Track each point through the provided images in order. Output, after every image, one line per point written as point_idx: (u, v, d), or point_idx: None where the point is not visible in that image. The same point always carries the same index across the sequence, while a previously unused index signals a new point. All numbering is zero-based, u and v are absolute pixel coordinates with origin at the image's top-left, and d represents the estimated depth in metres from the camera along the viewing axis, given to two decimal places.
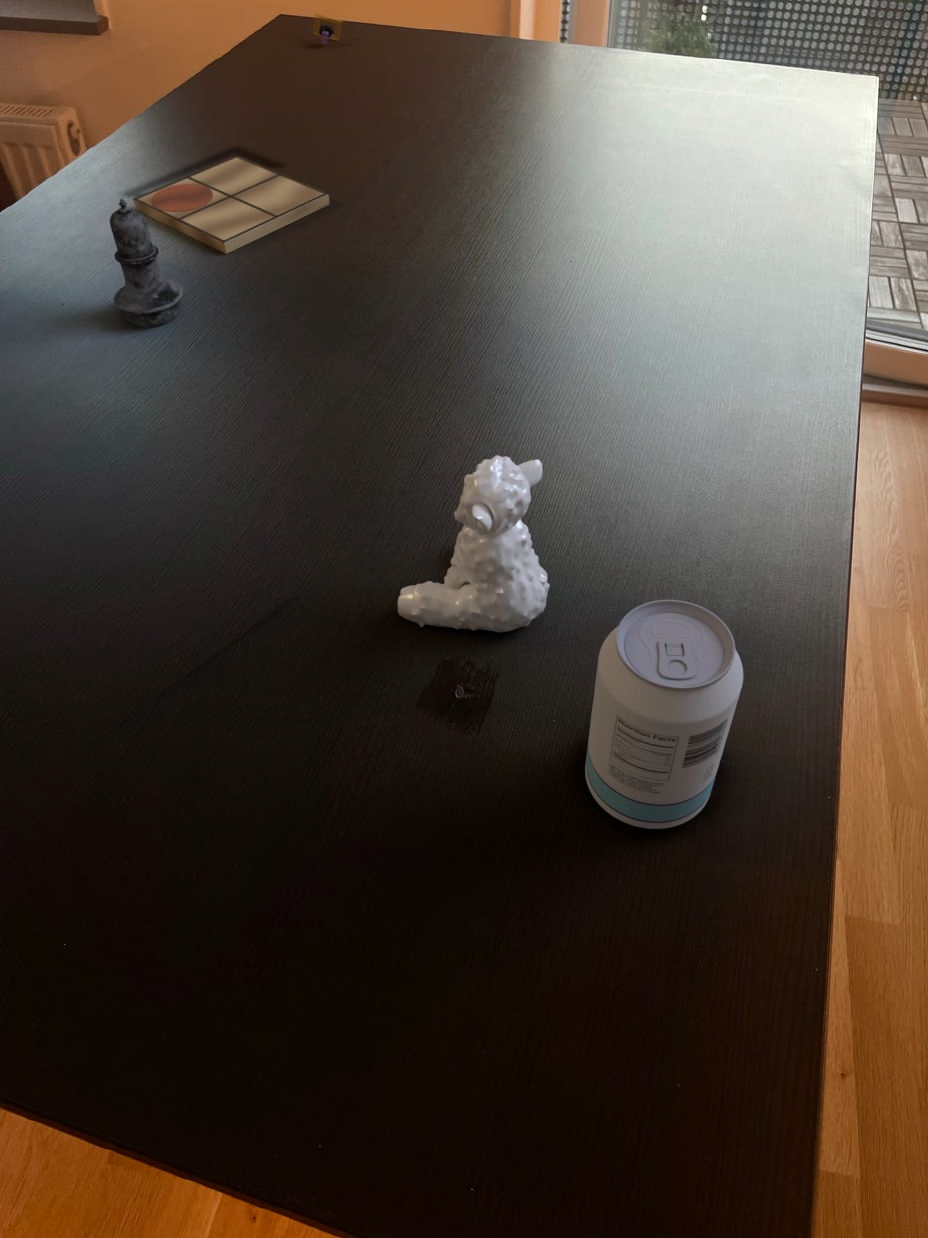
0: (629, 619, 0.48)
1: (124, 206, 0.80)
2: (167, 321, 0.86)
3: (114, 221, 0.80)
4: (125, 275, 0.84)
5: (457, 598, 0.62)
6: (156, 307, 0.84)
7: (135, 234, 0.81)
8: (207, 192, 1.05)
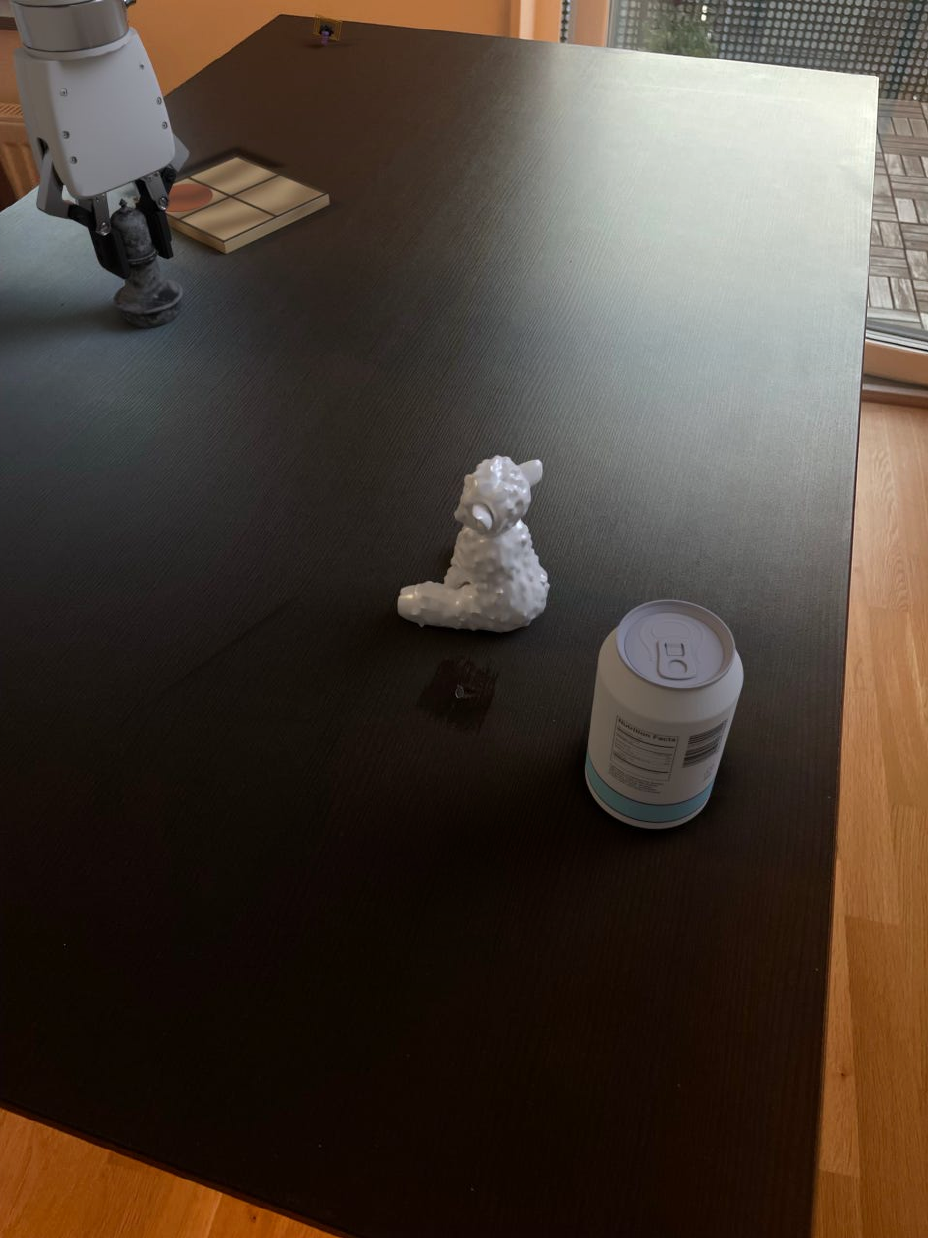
0: (629, 619, 0.48)
1: (124, 206, 0.80)
2: (167, 321, 0.86)
3: (115, 221, 0.80)
4: None
5: (458, 598, 0.62)
6: (156, 307, 0.84)
7: (135, 234, 0.81)
8: (207, 192, 1.05)
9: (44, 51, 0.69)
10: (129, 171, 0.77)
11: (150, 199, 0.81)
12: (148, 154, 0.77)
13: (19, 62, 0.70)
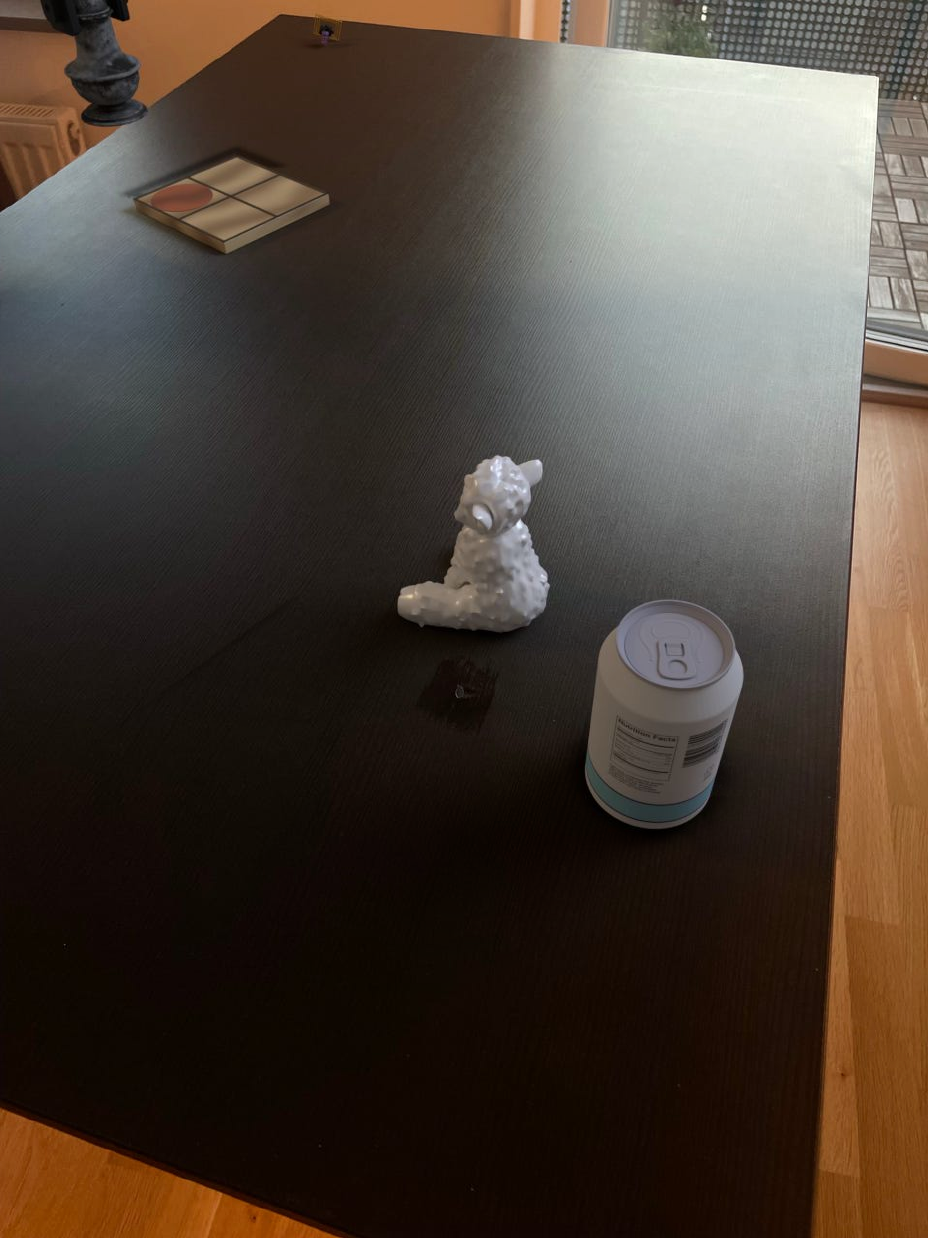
0: (629, 619, 0.48)
1: None
2: (123, 95, 0.78)
3: None
4: (76, 36, 0.76)
5: (458, 598, 0.62)
6: (109, 74, 0.76)
7: None
8: (207, 192, 1.05)
9: None
10: None
11: None
12: None
13: None
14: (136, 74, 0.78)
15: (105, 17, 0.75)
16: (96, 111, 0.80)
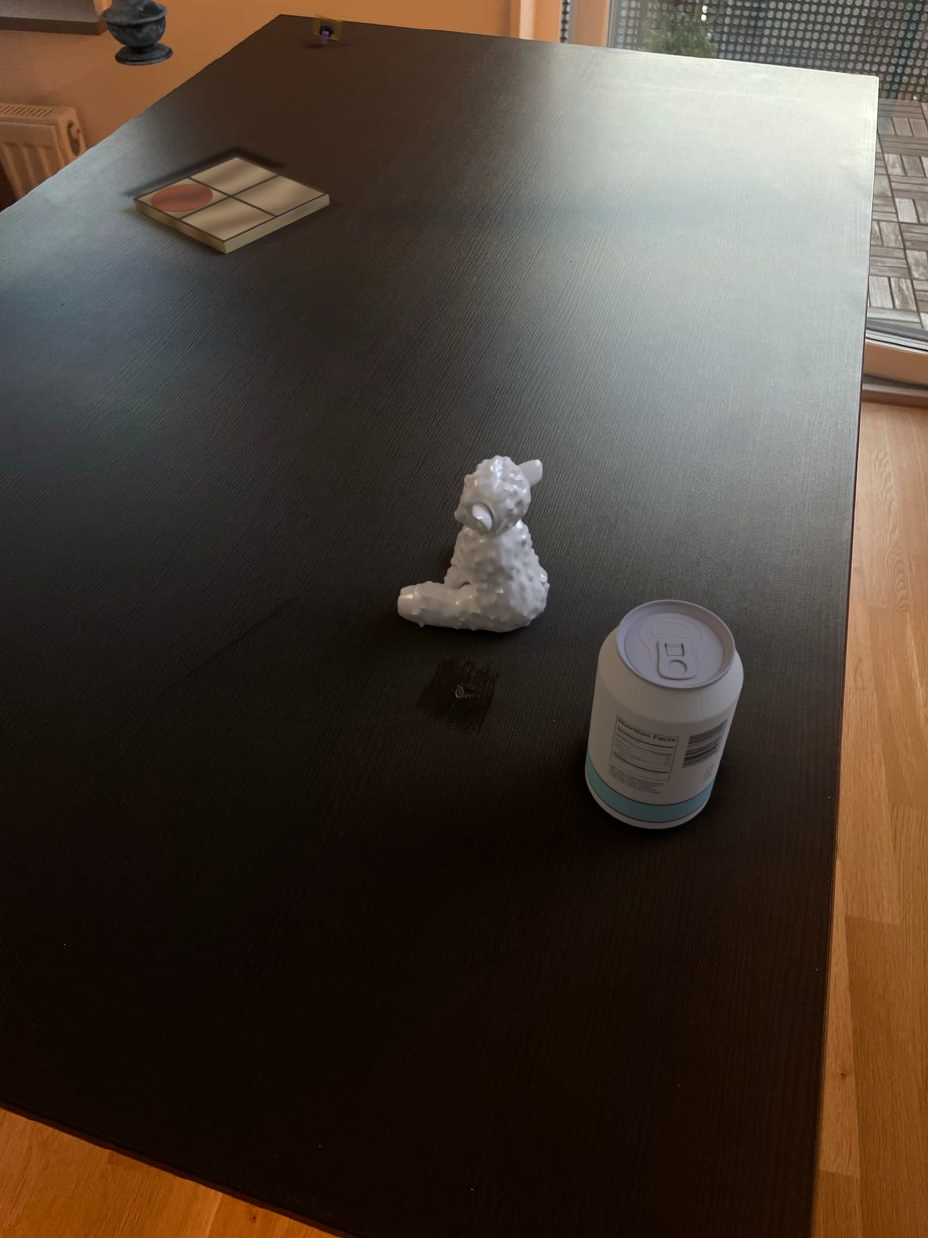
0: (629, 619, 0.48)
1: None
2: (152, 37, 0.90)
3: None
4: None
5: (458, 598, 0.62)
6: (141, 18, 0.88)
7: None
8: (207, 192, 1.05)
9: None
10: None
11: None
12: None
13: None
14: (163, 19, 0.90)
15: None
16: (129, 53, 0.91)
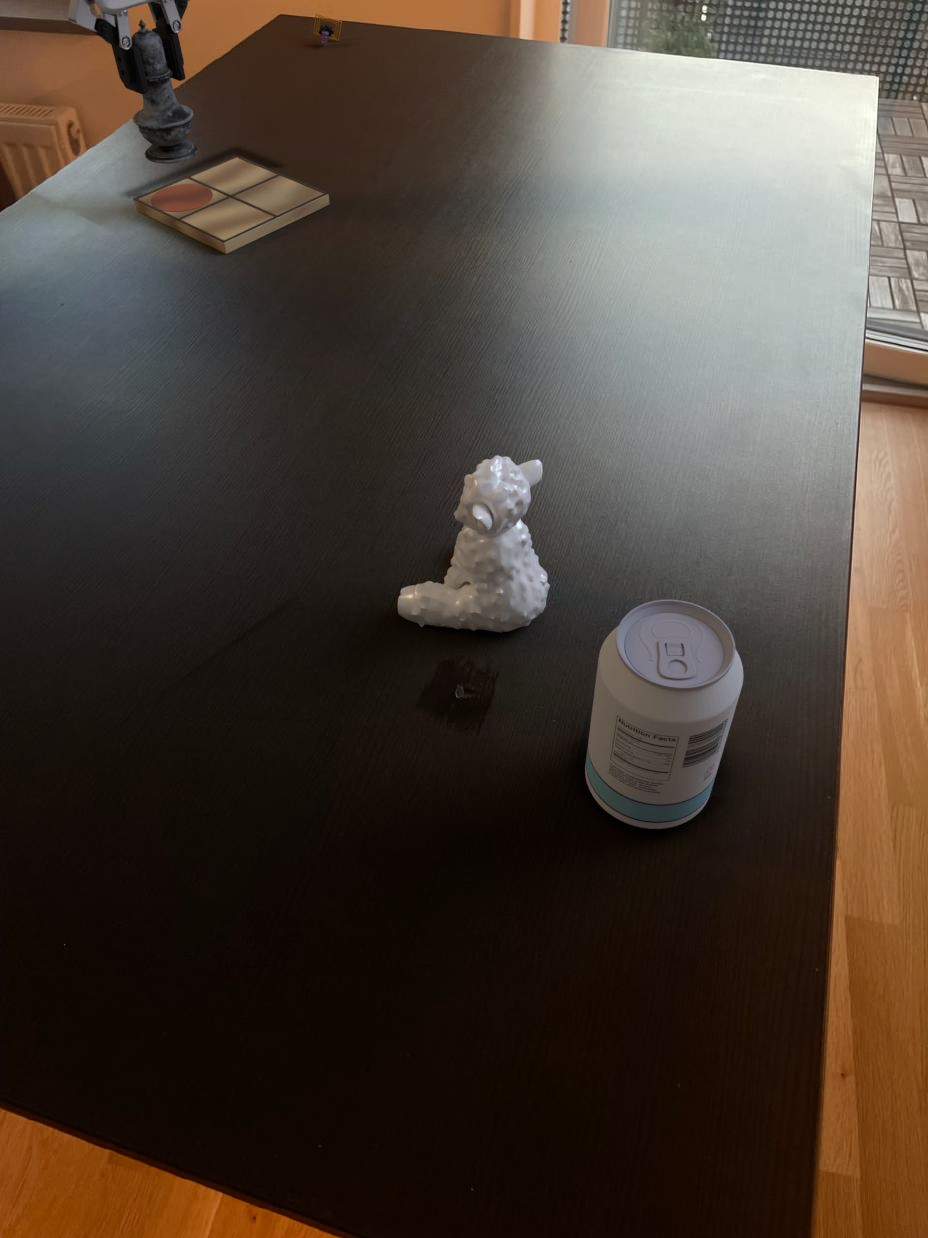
0: (629, 619, 0.48)
1: (143, 26, 0.92)
2: (180, 138, 0.98)
3: (135, 40, 0.92)
4: None
5: (458, 598, 0.62)
6: (170, 122, 0.97)
7: (152, 52, 0.93)
8: (207, 192, 1.05)
9: None
10: None
11: (165, 22, 0.93)
12: None
13: None
14: (190, 121, 0.98)
15: (167, 78, 0.95)
16: (158, 151, 1.00)
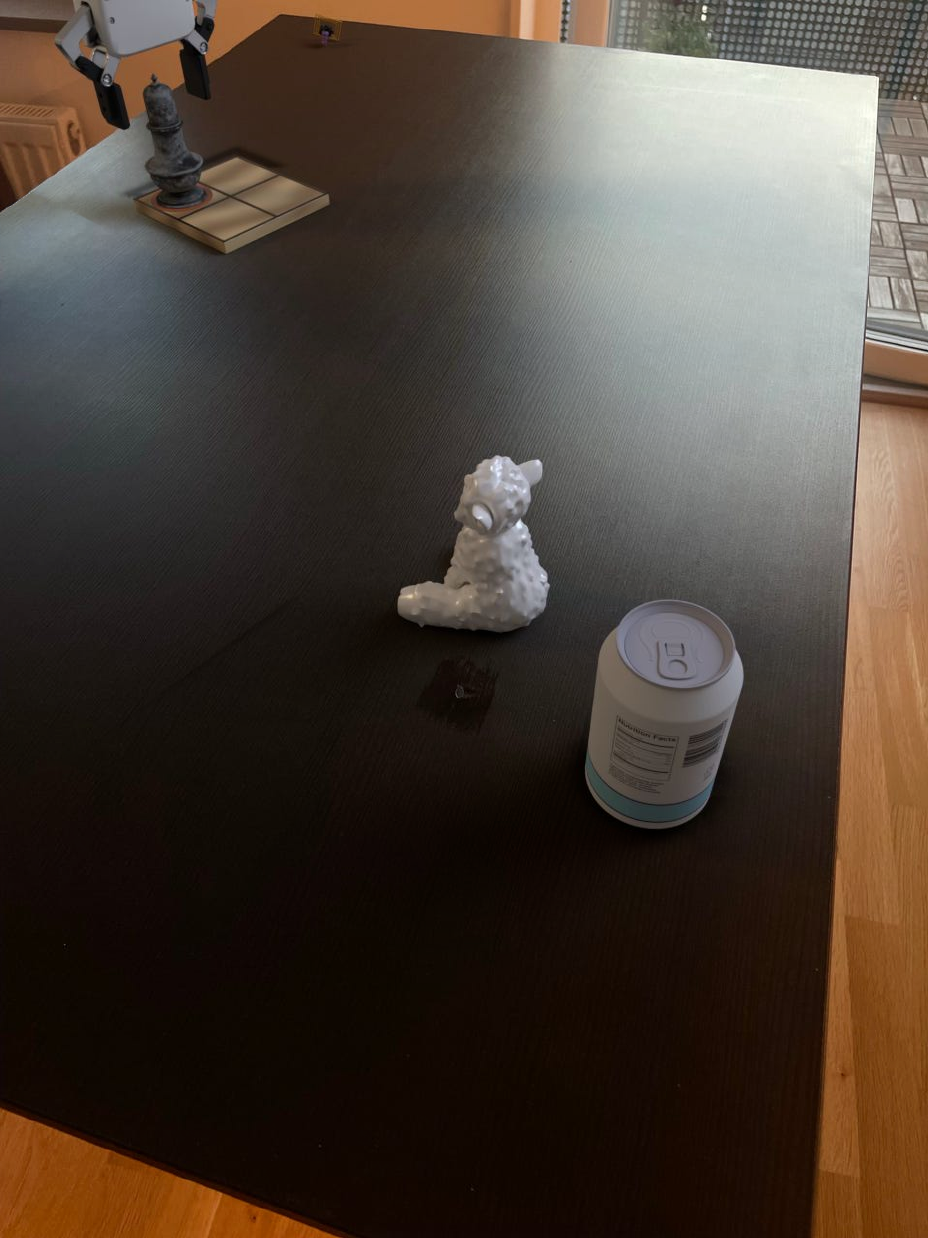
0: (629, 619, 0.48)
1: (155, 80, 0.96)
2: (190, 185, 1.02)
3: (147, 93, 0.96)
4: (155, 143, 0.99)
5: (457, 598, 0.62)
6: (181, 170, 1.00)
7: (164, 105, 0.96)
8: (207, 192, 1.05)
9: None
10: (157, 36, 0.92)
11: None
12: (173, 22, 0.92)
13: None
14: (199, 168, 1.02)
15: (178, 128, 0.98)
16: (168, 197, 1.03)
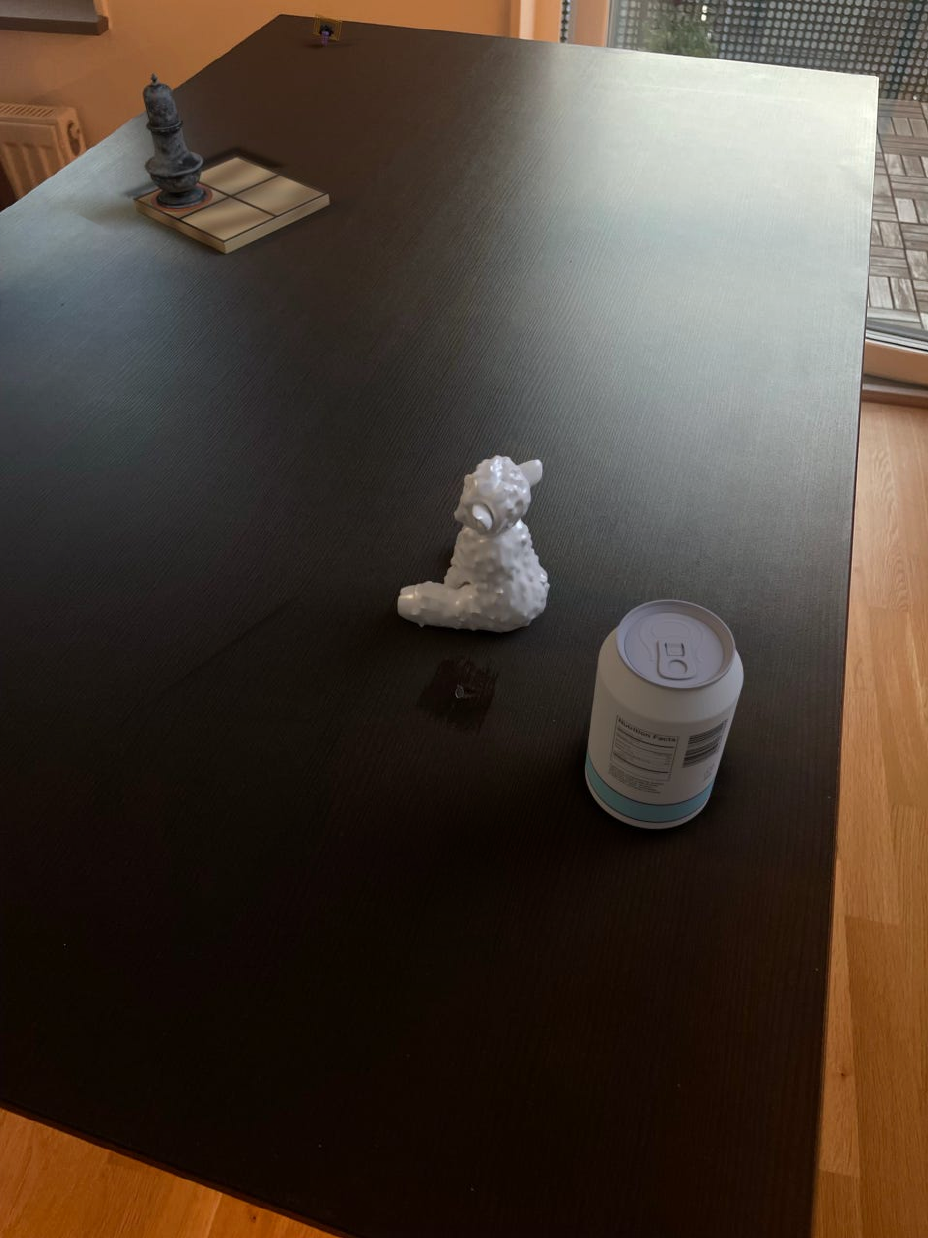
0: (629, 619, 0.48)
1: (155, 80, 0.96)
2: (190, 185, 1.02)
3: (147, 93, 0.96)
4: (155, 143, 0.99)
5: (458, 598, 0.62)
6: (181, 170, 1.00)
7: (164, 105, 0.96)
8: (207, 192, 1.05)
9: None
10: None
11: None
12: None
13: None
14: (199, 168, 1.02)
15: (178, 128, 0.98)
16: (168, 197, 1.03)
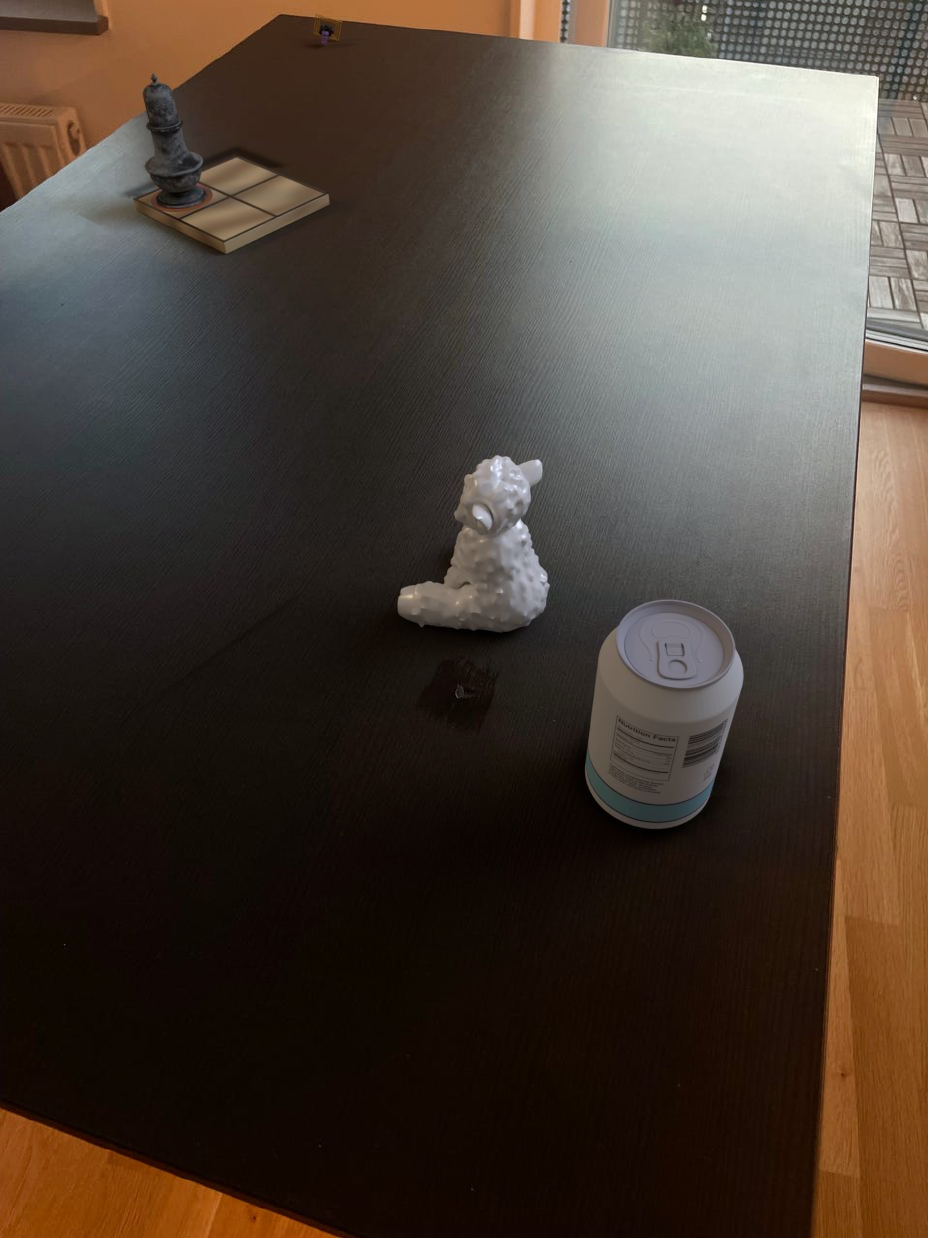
0: (629, 619, 0.48)
1: (155, 80, 0.96)
2: (190, 185, 1.02)
3: (147, 93, 0.96)
4: (155, 143, 0.99)
5: (458, 598, 0.62)
6: (181, 170, 1.00)
7: (164, 105, 0.96)
8: (207, 192, 1.05)
9: None
10: None
11: None
12: None
13: None
14: (199, 168, 1.02)
15: (178, 128, 0.98)
16: (168, 197, 1.03)
